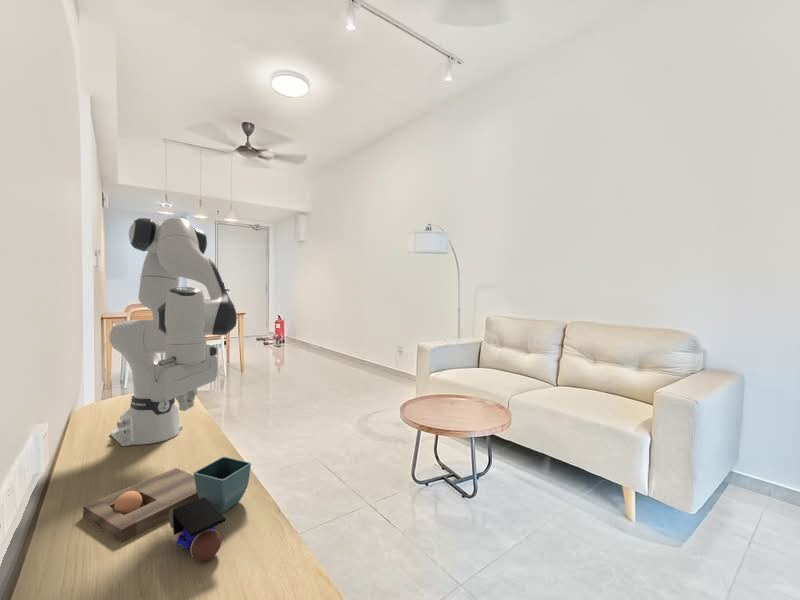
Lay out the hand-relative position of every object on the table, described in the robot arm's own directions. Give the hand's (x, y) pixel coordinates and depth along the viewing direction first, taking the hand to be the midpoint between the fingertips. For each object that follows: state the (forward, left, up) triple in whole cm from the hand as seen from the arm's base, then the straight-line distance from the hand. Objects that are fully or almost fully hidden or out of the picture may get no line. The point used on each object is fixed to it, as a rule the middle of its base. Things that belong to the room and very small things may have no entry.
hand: (186, 408), depth 92 cm
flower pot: (+14, 0, -20) cm, 25 cm away
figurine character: (+21, -11, -21) cm, 31 cm away
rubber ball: (0, -13, -18) cm, 22 cm away
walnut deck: (0, -8, -20) cm, 22 cm away
